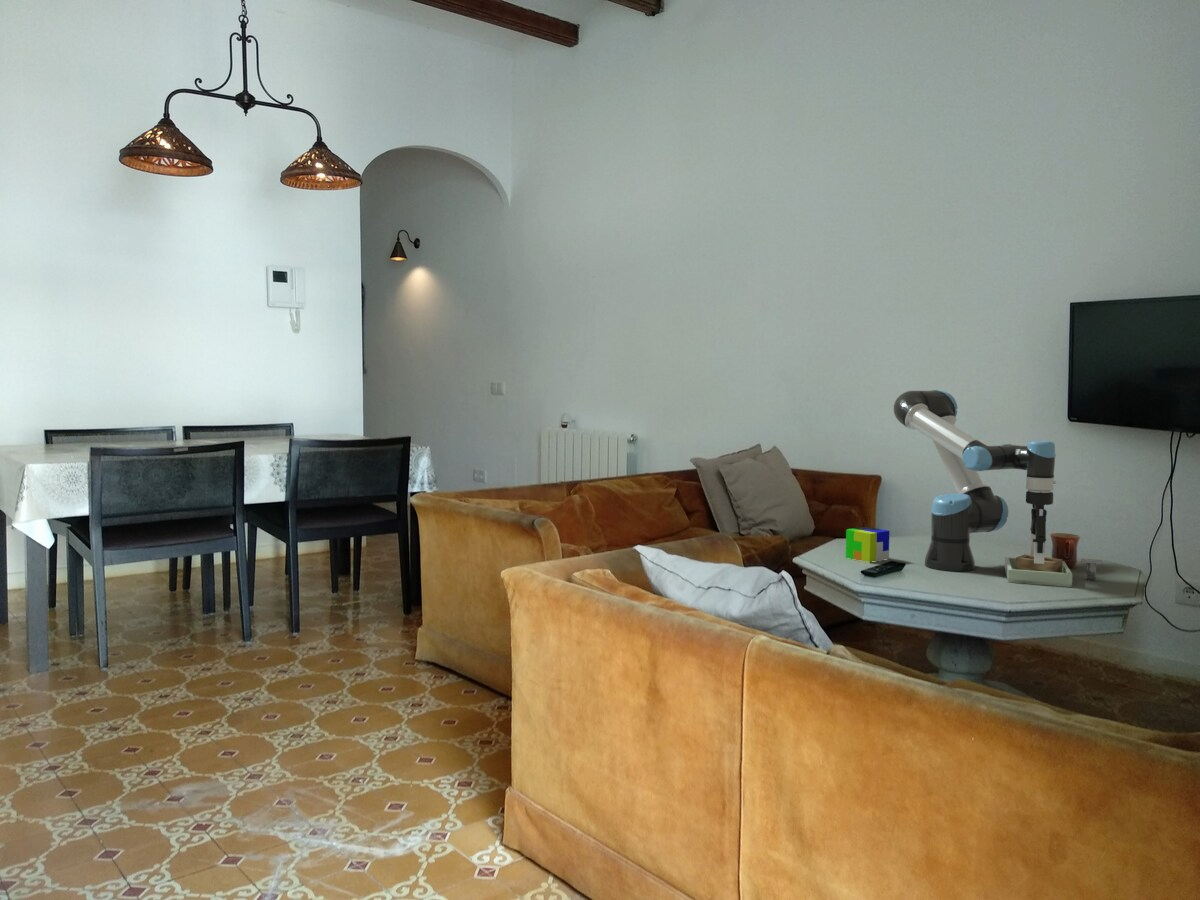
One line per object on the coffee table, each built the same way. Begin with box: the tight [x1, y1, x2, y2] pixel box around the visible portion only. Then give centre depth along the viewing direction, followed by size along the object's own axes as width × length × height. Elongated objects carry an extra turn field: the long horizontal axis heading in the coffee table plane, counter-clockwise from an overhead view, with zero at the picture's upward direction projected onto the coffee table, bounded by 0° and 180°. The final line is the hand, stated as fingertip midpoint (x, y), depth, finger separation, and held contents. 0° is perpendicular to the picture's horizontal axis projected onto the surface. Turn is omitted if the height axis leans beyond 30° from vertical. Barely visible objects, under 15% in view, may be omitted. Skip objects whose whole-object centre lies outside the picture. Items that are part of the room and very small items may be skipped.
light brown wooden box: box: [1015, 554, 1062, 573], centre depth 267 cm, size 11×8×5 cm
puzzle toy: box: [845, 526, 890, 562], centre depth 295 cm, size 10×10×10 cm
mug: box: [1049, 532, 1081, 569], centre depth 281 cm, size 12×9×10 cm
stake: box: [1080, 557, 1103, 582], centre depth 263 cm, size 5×2×7 cm, turn 68°
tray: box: [1004, 556, 1073, 588], centre depth 267 cm, size 17×20×4 cm
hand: (1037, 559), depth 268 cm, fingers open, 13 cm apart
